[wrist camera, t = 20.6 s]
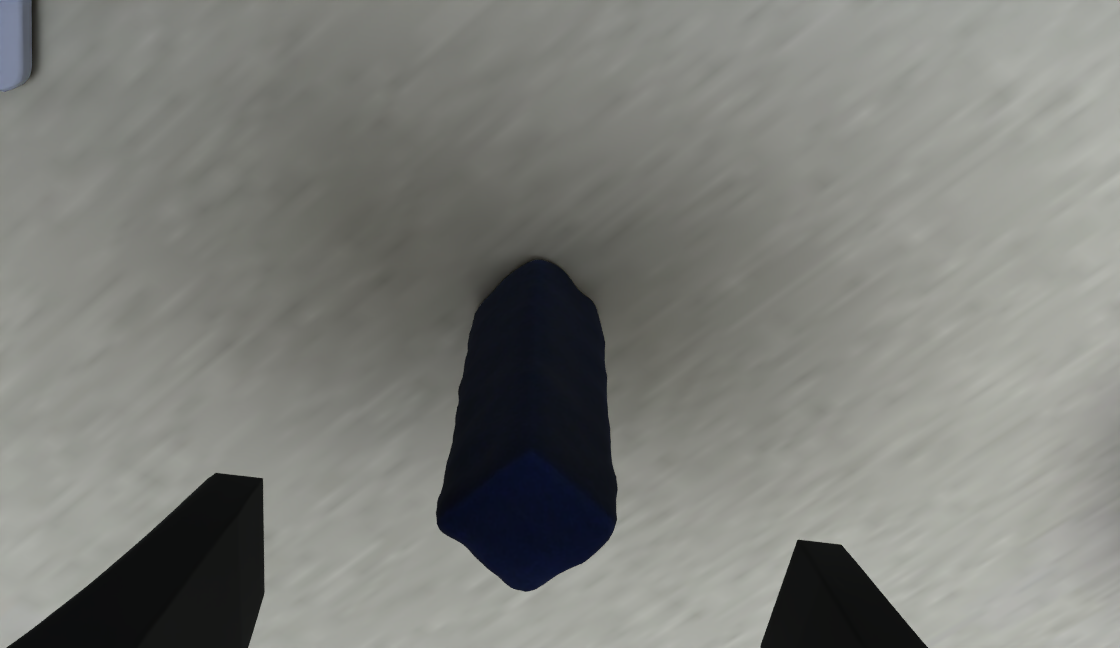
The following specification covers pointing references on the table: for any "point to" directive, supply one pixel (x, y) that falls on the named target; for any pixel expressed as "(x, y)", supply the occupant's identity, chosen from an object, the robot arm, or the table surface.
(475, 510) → the eraser
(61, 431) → the table surface
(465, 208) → the table surface
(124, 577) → the robot arm
